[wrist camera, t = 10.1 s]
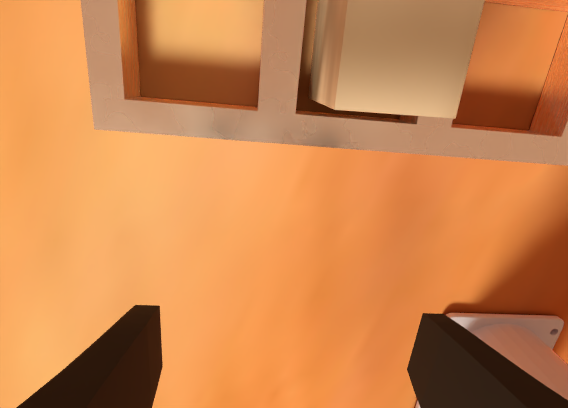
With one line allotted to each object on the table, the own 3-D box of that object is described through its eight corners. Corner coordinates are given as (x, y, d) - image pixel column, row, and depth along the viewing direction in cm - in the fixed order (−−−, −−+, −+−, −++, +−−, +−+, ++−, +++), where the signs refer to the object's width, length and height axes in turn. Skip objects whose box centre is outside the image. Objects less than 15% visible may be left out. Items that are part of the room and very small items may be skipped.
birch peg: (388, 104, 16) (455, 118, 11) (308, 97, 16) (334, 109, 11) (405, 11, 15) (491, -27, 10) (317, 2, 15) (353, -43, 9)
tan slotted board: (543, 156, 18) (576, 166, 16) (113, 123, 16) (94, 129, 14) (606, -18, 15) (654, -31, 13) (95, -87, 13) (69, -114, 11)
